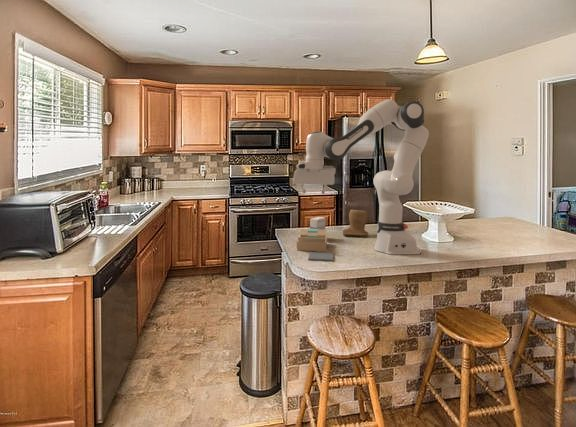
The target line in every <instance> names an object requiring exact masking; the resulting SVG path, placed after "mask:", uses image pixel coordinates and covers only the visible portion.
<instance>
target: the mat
mask: <svg viewBox="0 0 576 427" xmlns="http://www.w3.org/2000/svg"><path fill="white" fill-rule="evenodd" d="M307 260H308V261H317V262H334V252H323V251H309V254H308V259H307Z"/></svg>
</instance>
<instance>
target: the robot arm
mask: <svg viewBox="0 0 576 427" xmlns="http://www.w3.org/2000/svg"><path fill="white" fill-rule="evenodd" d="M424 115H425V108H424V106H423V105H422V103H420V102H418V101H416V100H412V101H408V102H406V103H404V104H403V105H402V106H400V105H398V103H397V102H396V101H395V100H393V99H389V98H386V99H385V100H382V101H380V102H379V103H377V104H375V105H373V106H372V107H369V109H368V110H367V111H365V112H364V113H363V114H362V115H361V116H359V117H360V118H359V121H358V123H357V125H356V126H355V127H353V128H352V129H350V131H348V132H347V133H346V134H344V135H342V136H341V137H331V136H329V135H327V134H325V133H324V131H320V130H319V131H314V132H310V133H308V135H307V137H306V141H305V142H306V143H305V152H306V155H305V162H300V163H298V164H296V169H295V170H294V173H293V181H292V182H293V184H295V185H300V188H301V190H302V194H306V191H307V190H306V188H304V185H324V188H323V189H321V195H325V194H326V193H325V192H326V189H327V188H328V185H329V186H333V185H334V184H335V175H336V171H337V170H336V167H335V166H333V165H324V163H325V162H324V159H325V158H328V159H330V160H333V161H340V160H343V158H344V157H346V155H347V154H348V153H349V151H350V149H351V148H352V147H353V146H354V145H356V144H357V143H359V142H360V141H361V140H362V139H364V138H365V137H367V136H370V135H373V134H374V133H376V132H378V131H380V130H382V129H383V128H384V127H386V126H387V125H388V124H390V123H391V124H392V125H393V126H394V127H395V128H396V129H398V130H400V131H403V132H404V135H403V136H404V137H402V140H401V141H400V143H399V146H398V147H397V149H396V151H395V152H394V155H393V161H394V162H393V166H392V169H391V170H382V171H378V172H377V173H376V174H375V175H374V177H373V185H374V187H375V190H376V193H377V198H378V205H379V206H378V208H379V209H378V221H377V225H376V231H377V232H376V233H377V235H376V240H375V244H374V247H373V249H374V251H377V252H380V253H385V254H388V255H421V254H420V253H422V249H421V248H420V247H419V246H418V244H417V240H416V238H415V236H413V235H412V234H411V233H410V232H409V231H407V229H408V228H409V225H408V224H406V223H404V222H403V208H404V206H403V205H402V203H401V201H400V196H404V195H408V194H409V193H411V192H412V190H413V189H414V186H415V184H414V183H415V182H414V178H413V175H414V170H415V167H416V164H418V160H419V159H420V157H421V155H422V153H423V152H424V149H425V147H426V145H427V142H428V140H429V135H430V132H429V130H428V128H426V127H425V126H423V124H424V123H425V116H424Z"/></svg>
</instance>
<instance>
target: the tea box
mask: <svg viewBox="0 0 576 427" xmlns="http://www.w3.org/2000/svg"><path fill="white" fill-rule="evenodd" d="M307 229H308V230H307V238H318V229H313V228H310V227H307Z"/></svg>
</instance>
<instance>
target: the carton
mask: <svg viewBox="0 0 576 427" xmlns="http://www.w3.org/2000/svg"><path fill="white" fill-rule="evenodd" d="M307 230H308V228H301V229H300V234H299V235H298V237H297V241H296V250H297V251H303V252H304V251H306V252H327V245H328V235H327V229H325V230H318V238H307Z"/></svg>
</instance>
